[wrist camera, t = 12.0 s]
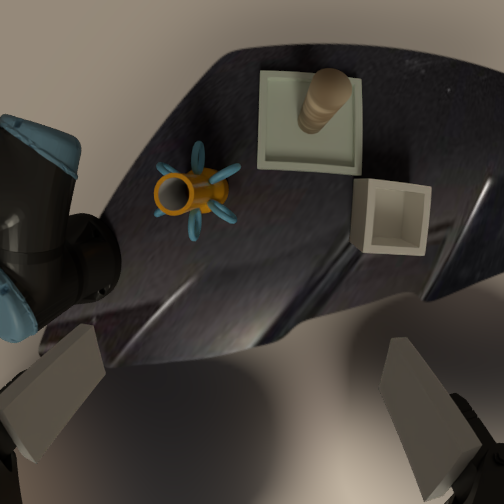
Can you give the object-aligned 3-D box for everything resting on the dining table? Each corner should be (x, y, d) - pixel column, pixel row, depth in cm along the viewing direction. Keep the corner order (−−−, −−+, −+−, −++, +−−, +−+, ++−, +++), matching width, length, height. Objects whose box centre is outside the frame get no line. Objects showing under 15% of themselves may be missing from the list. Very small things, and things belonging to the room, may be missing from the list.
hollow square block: (349, 241, 41) (362, 252, 35) (353, 178, 39) (368, 178, 33) (404, 244, 41) (424, 255, 34) (409, 185, 39) (431, 186, 32)
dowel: (297, 133, 38) (311, 103, 22) (297, 108, 37) (311, 66, 21) (323, 135, 38) (352, 107, 22) (323, 110, 37) (351, 70, 21)
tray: (258, 169, 40) (257, 168, 38) (261, 75, 37) (260, 70, 35) (357, 175, 39) (361, 175, 37) (357, 83, 36) (361, 79, 34)
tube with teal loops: (175, 146, 40) (128, 131, 26) (247, 148, 40) (232, 129, 25) (171, 229, 43) (124, 253, 28) (241, 234, 42) (224, 262, 28)
